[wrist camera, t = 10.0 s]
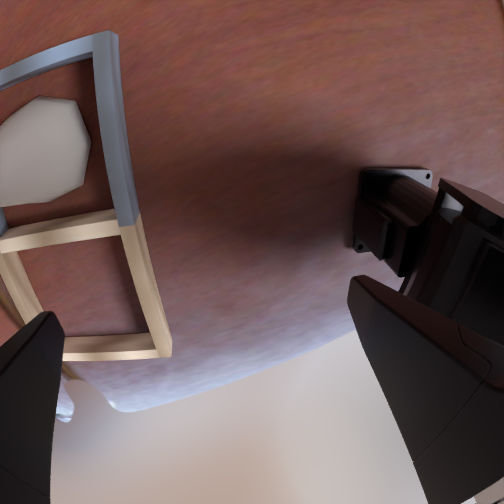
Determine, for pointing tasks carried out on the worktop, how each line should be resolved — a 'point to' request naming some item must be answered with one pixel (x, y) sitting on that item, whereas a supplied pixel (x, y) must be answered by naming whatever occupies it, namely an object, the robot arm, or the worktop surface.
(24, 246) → the caddy
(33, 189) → the flask
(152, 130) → the worktop surface
